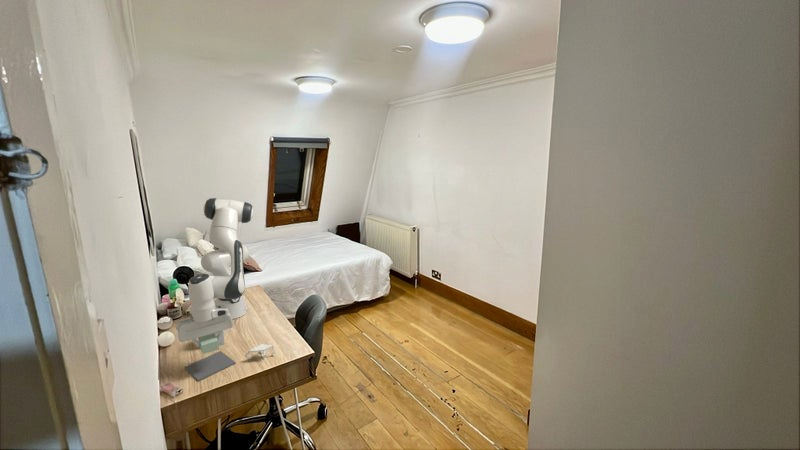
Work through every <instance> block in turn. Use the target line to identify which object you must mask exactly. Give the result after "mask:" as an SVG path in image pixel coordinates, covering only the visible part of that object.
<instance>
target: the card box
mask: <svg viewBox="0 0 800 450" xmlns="http://www.w3.org/2000/svg"><path fill="white" fill-rule="evenodd" d="M197 340H198V341H197V342H199V341H200V345H201V347H199V349H200V351H201V353H202V355H206V354H208V353H212V352H215V351H218V350H219V349H220V347H219V346H220V345H218V340H217V338H216V336H215V334H214V333H212V334H209V335H206V336H202V337H199V338H197Z"/></svg>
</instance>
